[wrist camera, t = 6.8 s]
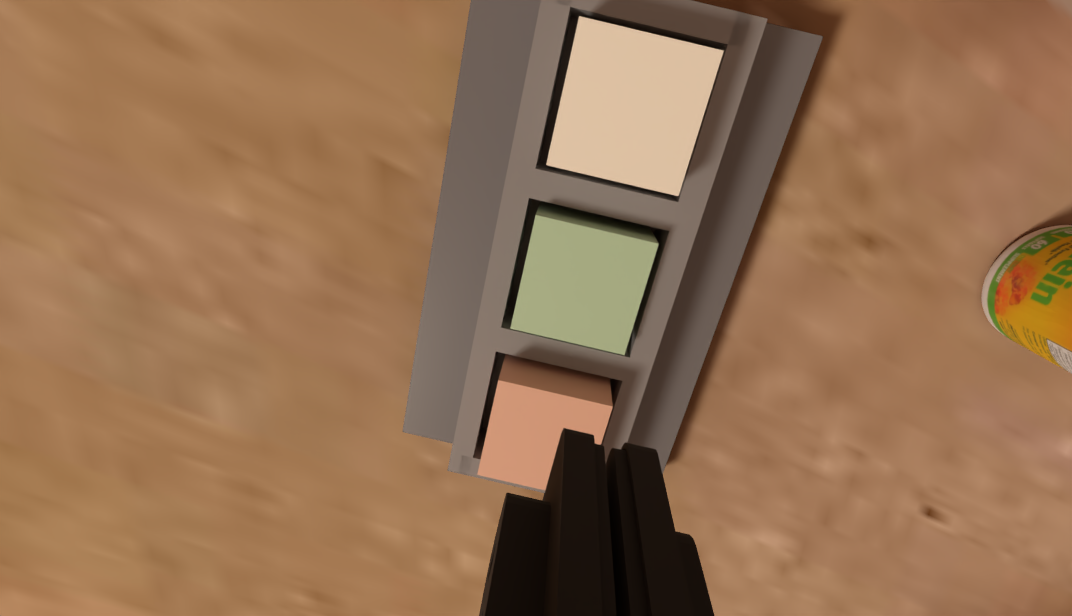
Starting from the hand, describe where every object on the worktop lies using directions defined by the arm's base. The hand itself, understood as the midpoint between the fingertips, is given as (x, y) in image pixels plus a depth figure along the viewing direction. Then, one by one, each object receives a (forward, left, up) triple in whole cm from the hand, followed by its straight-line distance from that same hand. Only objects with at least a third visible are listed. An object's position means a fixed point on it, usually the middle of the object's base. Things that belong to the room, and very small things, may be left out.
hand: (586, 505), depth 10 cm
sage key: (0, 0, -15) cm, 15 cm away
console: (0, 0, -17) cm, 17 cm away
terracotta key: (0, +6, -14) cm, 16 cm away
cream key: (0, -7, -14) cm, 16 cm away
